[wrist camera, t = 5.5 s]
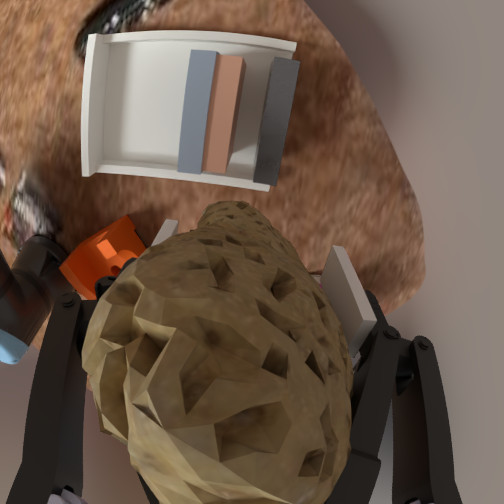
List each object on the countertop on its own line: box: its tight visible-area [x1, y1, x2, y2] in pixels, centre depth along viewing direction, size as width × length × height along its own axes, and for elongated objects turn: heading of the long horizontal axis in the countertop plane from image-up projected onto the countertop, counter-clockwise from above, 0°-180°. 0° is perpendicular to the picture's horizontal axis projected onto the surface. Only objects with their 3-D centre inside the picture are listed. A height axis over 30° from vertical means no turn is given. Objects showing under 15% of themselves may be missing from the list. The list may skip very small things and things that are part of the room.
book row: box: [177, 50, 246, 175], centre depth 30 cm, size 5×13×10 cm, turn 171°
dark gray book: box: [253, 56, 300, 186], centre depth 31 cm, size 2×14×9 cm, turn 171°
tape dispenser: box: [59, 215, 146, 300], centre depth 47 cm, size 18×13×8 cm
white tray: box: [81, 30, 297, 192], centre depth 33 cm, size 26×20×6 cm
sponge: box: [82, 201, 354, 504], centre depth 13 cm, size 13×8×20 cm, turn 26°
